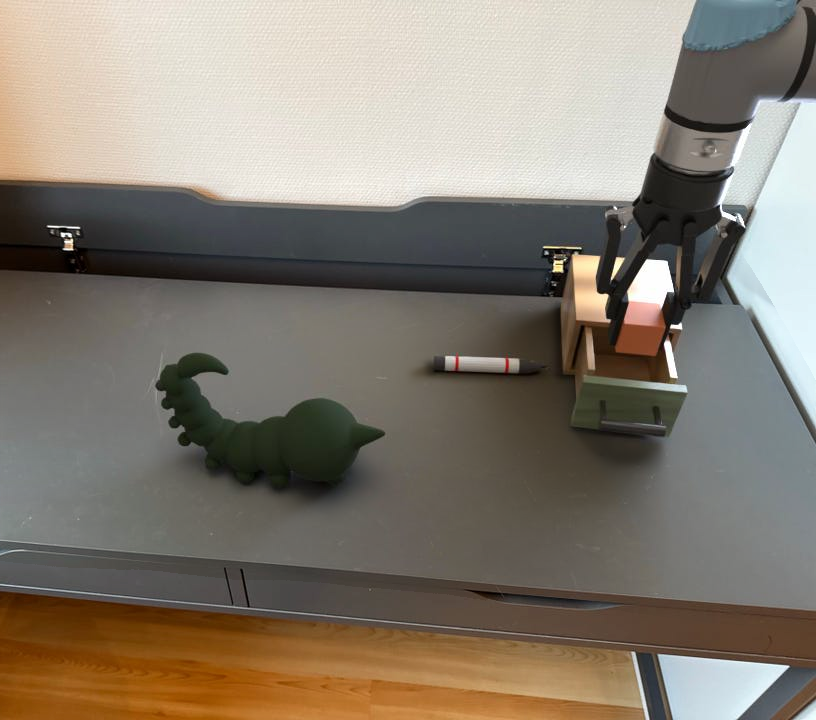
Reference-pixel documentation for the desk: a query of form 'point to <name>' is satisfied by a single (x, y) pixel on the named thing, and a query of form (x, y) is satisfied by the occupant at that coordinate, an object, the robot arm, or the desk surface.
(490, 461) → the desk surface
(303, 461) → the toy figurine
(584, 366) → the drawer
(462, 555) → the desk surface
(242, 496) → the desk surface
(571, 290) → the cabinet
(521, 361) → the marker
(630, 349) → the block
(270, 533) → the desk surface
